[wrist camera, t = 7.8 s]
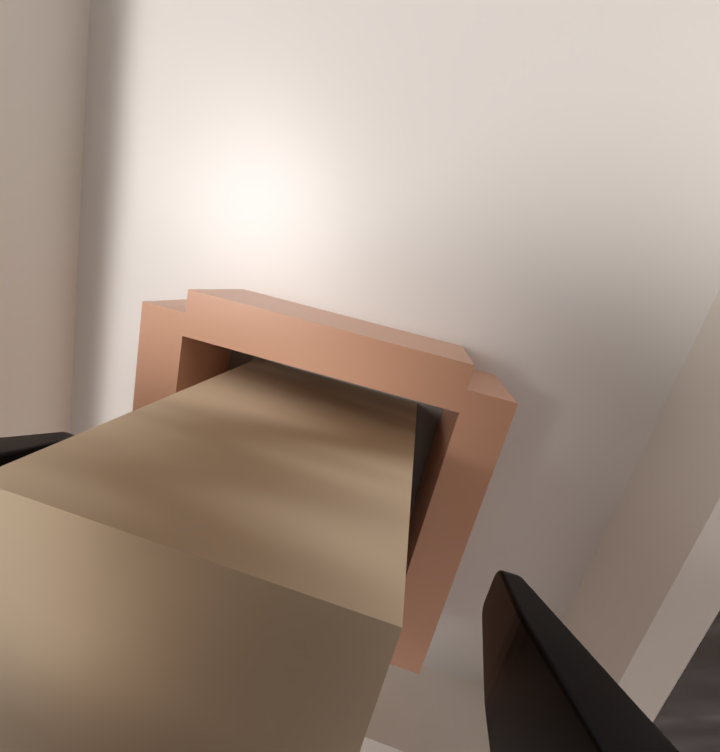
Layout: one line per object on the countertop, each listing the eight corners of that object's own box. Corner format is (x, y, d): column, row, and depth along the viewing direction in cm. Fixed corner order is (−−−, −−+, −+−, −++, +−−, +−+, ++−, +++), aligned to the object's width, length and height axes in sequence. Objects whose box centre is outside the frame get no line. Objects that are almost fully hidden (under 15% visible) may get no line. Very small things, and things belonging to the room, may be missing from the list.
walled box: (1054, -321, 6) (1579, -829, 3) (541, 718, 12) (577, 848, 10) (86, -390, 8) (-98, -758, 5) (52, 545, 14) (-43, 611, 11)
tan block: (417, 403, 10) (402, 626, 3) (375, 543, 11) (302, 919, 5) (258, 357, 11) (-28, 478, 4) (233, 497, 12) (-23, 778, 5)
